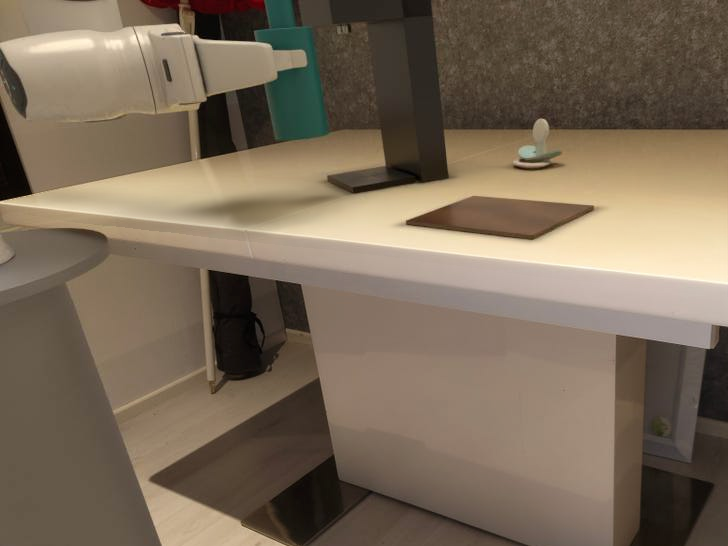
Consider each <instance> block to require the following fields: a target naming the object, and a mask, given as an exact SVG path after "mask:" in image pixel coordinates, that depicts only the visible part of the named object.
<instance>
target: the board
mask: <svg viewBox="0 0 728 546" xmlns="http://www.w3.org/2000/svg"><path fill="white" fill-rule="evenodd" d="M594 209H595V206H594V205H592V204H578V203H568V202H567V203H566V202H553V201H543V200H540V201H539V200H529V199H520V198H519V199H518V198H506V197H495V196H493V197H492V196H481V195H480V196H479V195H472V196H469V197H467V198H464V199H461V200H458V201H456V202H453V203H450V204H447V205H445V206H441V207H438V208H436V209H434V210H431V211H429V212H426V213H423V214H420V215H417V216H414V217H412V218H410V219H406V220H405V224H406V225H408V226H409V225H410V226H417V227H426V228H435V229H442V230H451V231H460V232H467V233H475V234H484V235H491V236H492V235H493V236H502V237H509V238H517V239H527V240H535V239H536V238H539V237H540V236H543V235H544V234H546V233H549V232H551V231H553V230H555V229H556V228H559V227H561V226H562V225H563V226H564V225H565V224H567V223H569V222H571V221H573V220H575V219H577V218H579V217H581V216H583V215H585V214H587V213H589V212H591V211H593V210H594Z"/></svg>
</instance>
